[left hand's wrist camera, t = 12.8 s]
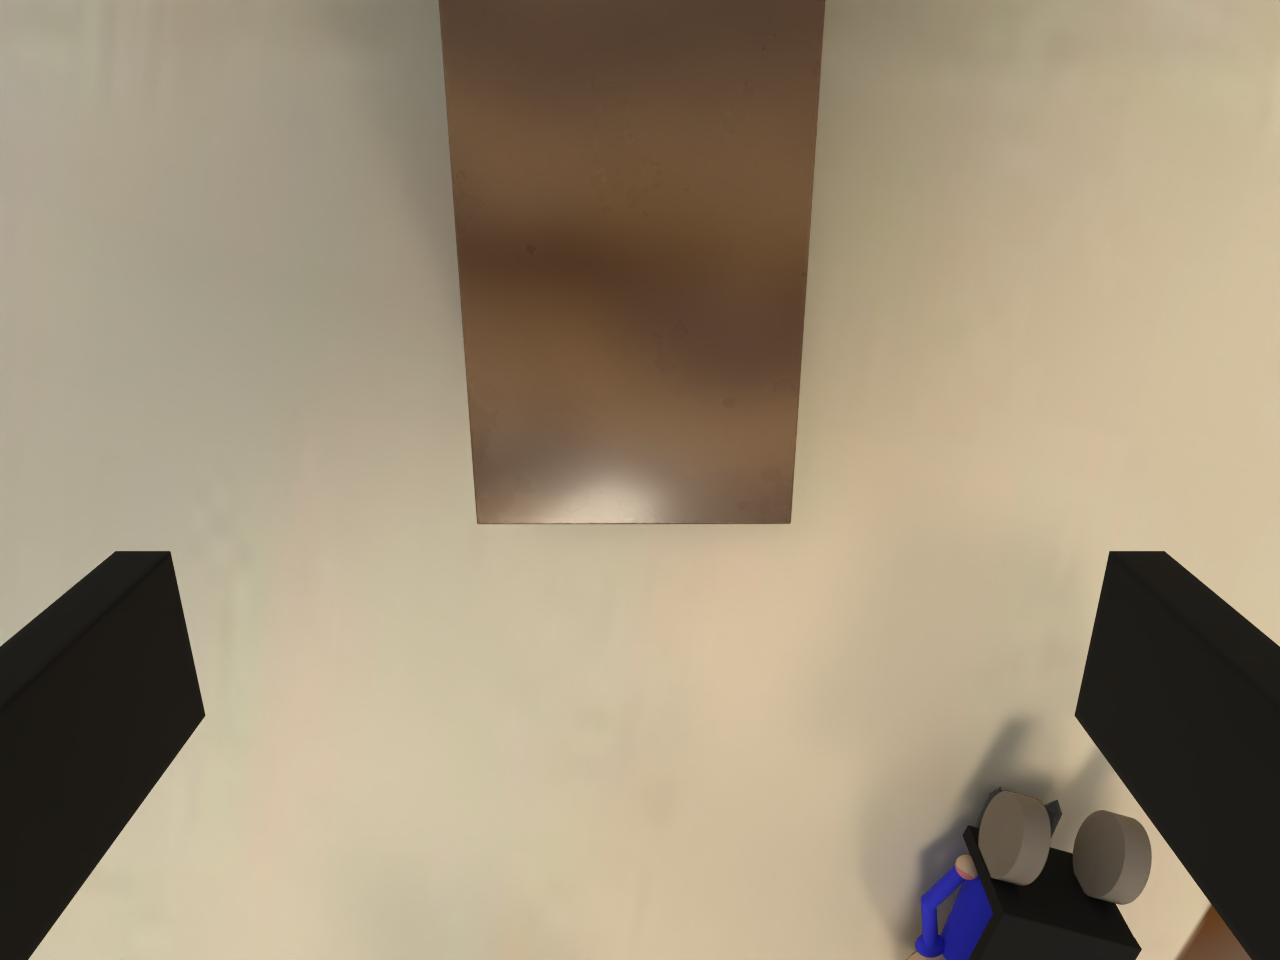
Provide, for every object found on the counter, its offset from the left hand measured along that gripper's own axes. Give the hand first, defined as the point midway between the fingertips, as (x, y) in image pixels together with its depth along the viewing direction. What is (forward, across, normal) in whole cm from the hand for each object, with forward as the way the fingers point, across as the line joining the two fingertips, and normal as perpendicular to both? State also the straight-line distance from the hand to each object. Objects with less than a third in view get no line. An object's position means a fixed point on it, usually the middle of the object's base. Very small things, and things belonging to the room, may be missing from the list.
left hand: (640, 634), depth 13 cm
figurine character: (+22, -16, +27) cm, 39 cm away
